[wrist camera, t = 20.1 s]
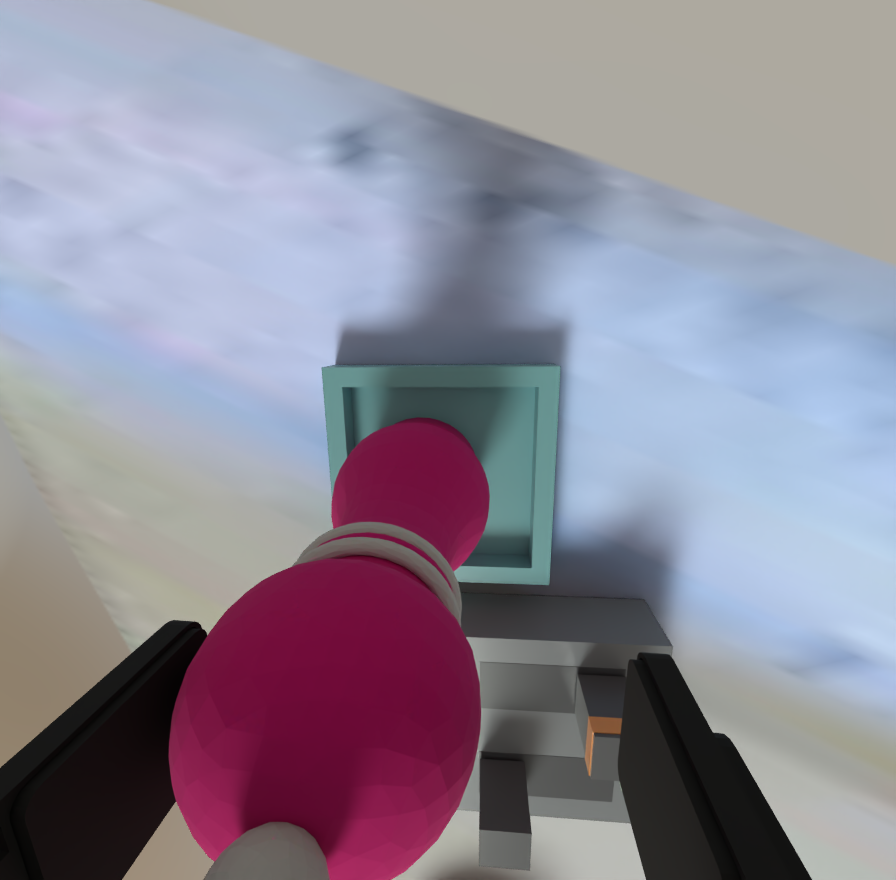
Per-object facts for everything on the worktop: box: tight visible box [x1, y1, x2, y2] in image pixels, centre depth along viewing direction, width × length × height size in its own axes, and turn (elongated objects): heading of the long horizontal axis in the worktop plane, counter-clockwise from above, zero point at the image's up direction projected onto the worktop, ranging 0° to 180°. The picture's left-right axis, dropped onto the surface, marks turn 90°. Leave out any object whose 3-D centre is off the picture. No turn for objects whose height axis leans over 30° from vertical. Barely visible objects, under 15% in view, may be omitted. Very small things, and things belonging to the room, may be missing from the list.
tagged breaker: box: [575, 674, 626, 781], centre depth 21 cm, size 3×2×4 cm
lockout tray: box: [322, 364, 561, 585], centre depth 24 cm, size 12×12×2 cm
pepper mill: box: [169, 417, 490, 880], centre depth 15 cm, size 7×7×20 cm
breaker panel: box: [457, 593, 673, 823], centre depth 26 cm, size 12×12×4 cm
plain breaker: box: [479, 759, 532, 871], centre depth 23 cm, size 2×2×4 cm
